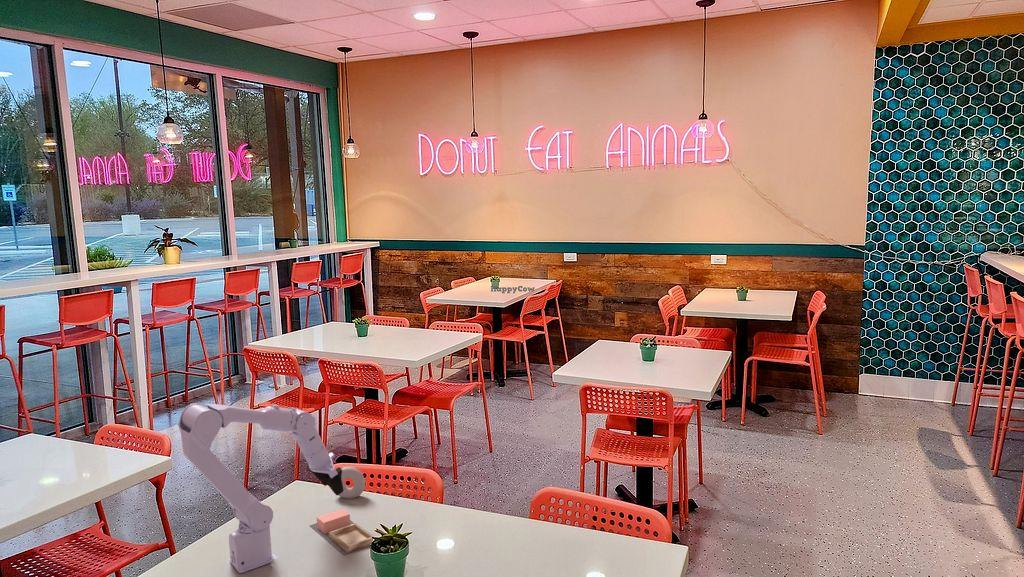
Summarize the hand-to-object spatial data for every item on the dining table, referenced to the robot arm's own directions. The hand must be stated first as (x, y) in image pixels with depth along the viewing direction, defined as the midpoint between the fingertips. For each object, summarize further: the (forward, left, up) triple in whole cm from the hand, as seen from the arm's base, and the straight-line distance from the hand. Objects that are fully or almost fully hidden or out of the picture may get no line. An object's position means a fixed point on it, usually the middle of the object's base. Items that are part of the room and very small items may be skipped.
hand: (333, 488), depth 184 cm
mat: (0, -5, -12) cm, 13 cm away
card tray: (0, -10, -11) cm, 15 cm away
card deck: (0, +1, -11) cm, 11 cm away
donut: (+12, +16, -12) cm, 23 cm away
